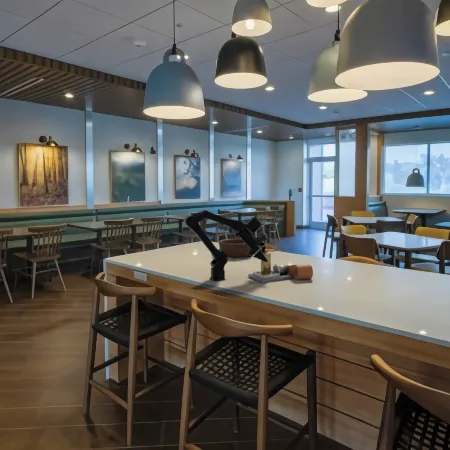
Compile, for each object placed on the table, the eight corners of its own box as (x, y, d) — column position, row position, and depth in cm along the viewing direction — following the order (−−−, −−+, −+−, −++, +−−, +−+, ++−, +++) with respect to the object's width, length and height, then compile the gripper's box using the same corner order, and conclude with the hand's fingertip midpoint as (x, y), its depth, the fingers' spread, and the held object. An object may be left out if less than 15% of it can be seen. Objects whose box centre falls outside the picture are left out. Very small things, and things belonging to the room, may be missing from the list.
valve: (257, 276, 202) (257, 250, 201) (260, 273, 209) (260, 248, 208) (273, 277, 200) (273, 251, 199) (275, 274, 207) (275, 248, 205)
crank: (312, 280, 200) (313, 265, 200) (298, 281, 199) (298, 266, 198) (296, 272, 220) (296, 258, 219) (283, 272, 218) (283, 259, 217)
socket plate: (261, 282, 196) (261, 269, 195) (248, 276, 208) (248, 264, 208) (294, 278, 204) (294, 265, 203) (279, 273, 217) (279, 260, 216)
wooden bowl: (244, 260, 254) (244, 245, 253) (212, 257, 266) (212, 242, 265) (260, 254, 275) (260, 240, 274) (230, 251, 288) (229, 237, 287)
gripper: (255, 230, 194) (276, 252, 192) (262, 226, 212) (282, 246, 210) (240, 245, 197) (261, 267, 195) (248, 240, 215) (267, 260, 213)
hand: (268, 259), depth 203 cm, fingers open, 9 cm apart
